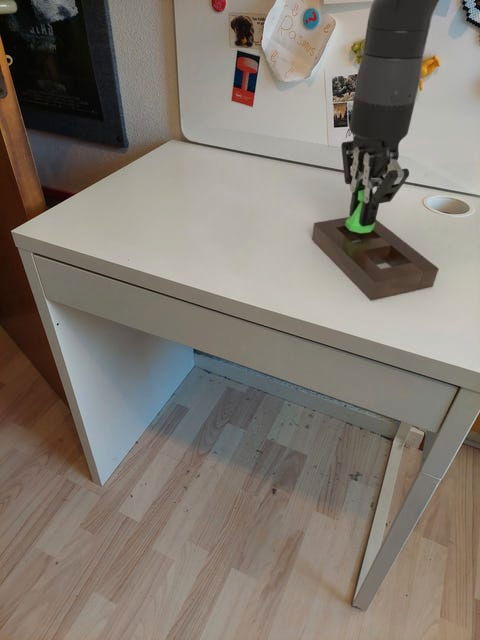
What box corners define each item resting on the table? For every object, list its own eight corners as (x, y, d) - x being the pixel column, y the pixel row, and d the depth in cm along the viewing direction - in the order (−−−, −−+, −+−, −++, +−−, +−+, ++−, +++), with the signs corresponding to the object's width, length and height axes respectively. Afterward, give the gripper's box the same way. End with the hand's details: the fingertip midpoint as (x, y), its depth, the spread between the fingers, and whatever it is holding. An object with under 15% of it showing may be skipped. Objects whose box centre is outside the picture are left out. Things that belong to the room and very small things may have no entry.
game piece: (358, 217, 71) (365, 180, 67) (380, 227, 68) (388, 189, 64) (339, 225, 69) (345, 187, 65) (360, 236, 66) (368, 197, 62)
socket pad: (365, 229, 76) (368, 213, 74) (432, 286, 63) (439, 268, 61) (311, 239, 73) (313, 222, 71) (371, 300, 61) (375, 282, 59)
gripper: (446, 106, 53) (410, 238, 64) (379, 80, 63) (358, 198, 74) (391, 112, 51) (364, 246, 62) (331, 84, 61) (317, 205, 72)
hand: (361, 220), depth 68 cm, fingers closed on game piece, 2 cm apart
